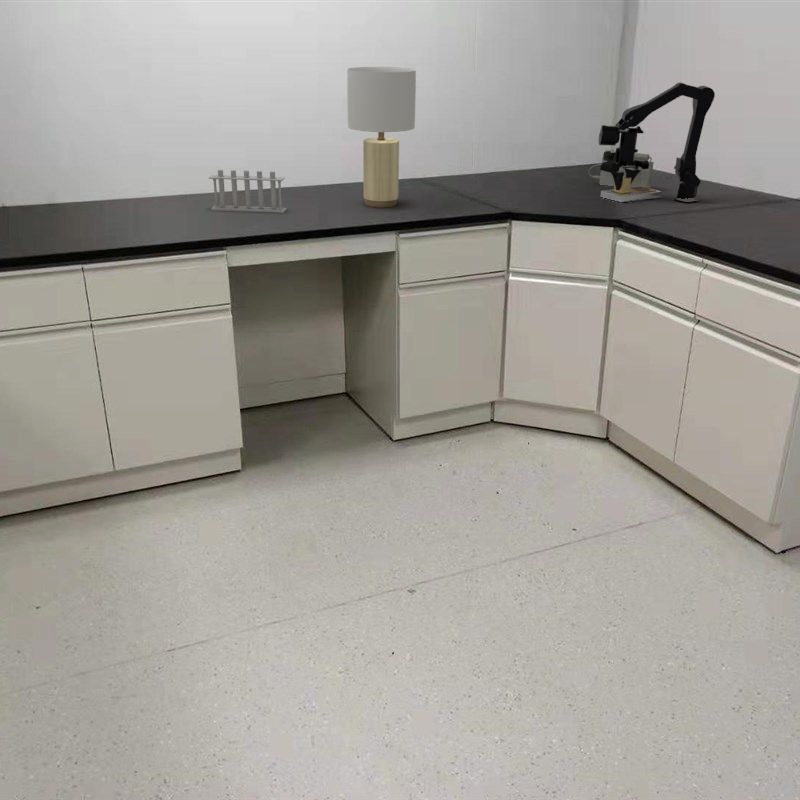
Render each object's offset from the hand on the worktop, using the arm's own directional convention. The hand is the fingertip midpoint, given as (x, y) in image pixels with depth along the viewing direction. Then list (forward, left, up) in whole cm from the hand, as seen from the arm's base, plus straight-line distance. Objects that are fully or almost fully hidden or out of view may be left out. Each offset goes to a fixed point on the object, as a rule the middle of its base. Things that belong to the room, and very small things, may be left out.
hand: (621, 189), depth 305 cm
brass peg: (0, 0, -4) cm, 4 cm away
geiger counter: (-14, -17, -4) cm, 22 cm away
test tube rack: (+129, -43, -4) cm, 136 cm away
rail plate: (-5, 0, -4) cm, 6 cm away
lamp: (+84, -31, -4) cm, 90 cm away
